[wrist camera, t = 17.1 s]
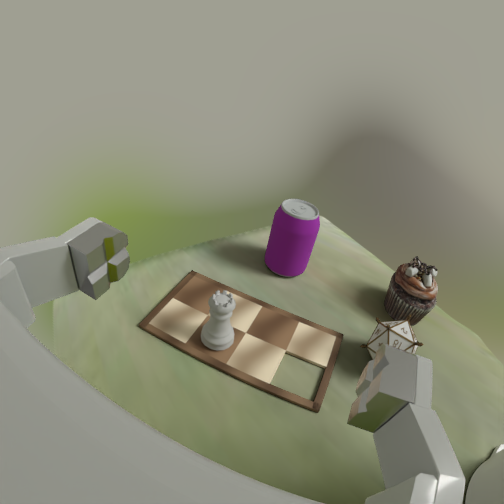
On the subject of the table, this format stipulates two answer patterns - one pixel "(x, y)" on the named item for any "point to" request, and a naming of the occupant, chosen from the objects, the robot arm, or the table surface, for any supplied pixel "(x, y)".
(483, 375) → the table surface
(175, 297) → the board
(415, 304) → the cupcake
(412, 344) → the game die
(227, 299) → the rook chess piece
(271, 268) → the beverage can
